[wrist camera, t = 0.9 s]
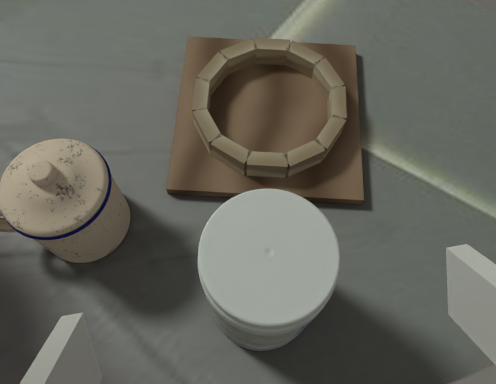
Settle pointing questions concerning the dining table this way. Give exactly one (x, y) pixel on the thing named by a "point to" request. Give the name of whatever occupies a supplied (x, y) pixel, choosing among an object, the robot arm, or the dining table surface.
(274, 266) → the supplement tub
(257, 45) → the ring holder
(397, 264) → the dining table surface
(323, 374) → the dining table surface
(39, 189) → the teacup with lid
